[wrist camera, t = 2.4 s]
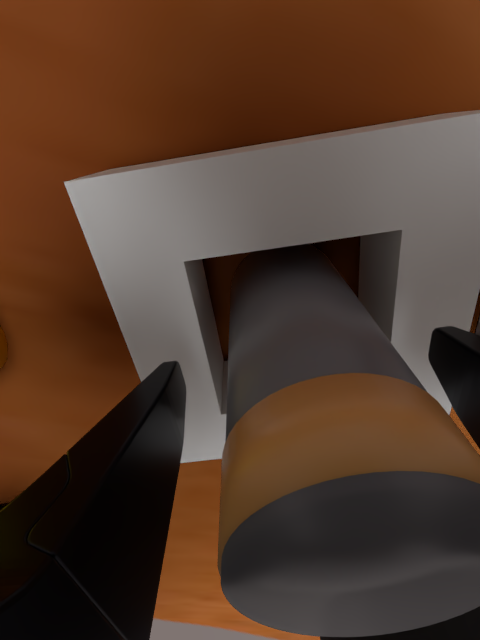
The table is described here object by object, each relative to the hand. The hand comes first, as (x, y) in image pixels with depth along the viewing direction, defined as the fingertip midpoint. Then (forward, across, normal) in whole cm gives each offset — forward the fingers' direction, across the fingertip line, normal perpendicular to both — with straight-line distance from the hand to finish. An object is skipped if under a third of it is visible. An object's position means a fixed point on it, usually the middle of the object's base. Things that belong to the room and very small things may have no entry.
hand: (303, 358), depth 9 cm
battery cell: (+4, 0, 0) cm, 4 cm away
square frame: (+4, 0, 0) cm, 4 cm away
